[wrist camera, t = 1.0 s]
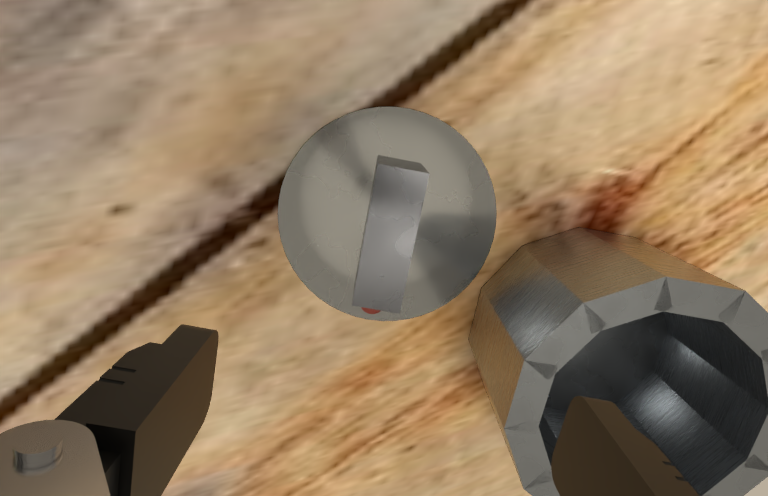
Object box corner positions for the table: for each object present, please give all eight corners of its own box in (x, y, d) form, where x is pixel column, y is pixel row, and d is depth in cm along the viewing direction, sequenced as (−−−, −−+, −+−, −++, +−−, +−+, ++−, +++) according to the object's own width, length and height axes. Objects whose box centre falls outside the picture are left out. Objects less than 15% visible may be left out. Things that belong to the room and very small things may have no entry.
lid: (297, 87, 27) (275, 79, 21) (515, 130, 27) (551, 134, 22) (269, 294, 30) (243, 338, 24) (464, 328, 31) (484, 378, 25)
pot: (500, 212, 28) (555, 256, 20) (710, 251, 29) (851, 310, 20) (451, 404, 32) (478, 513, 23) (640, 434, 32) (735, 551, 24)
